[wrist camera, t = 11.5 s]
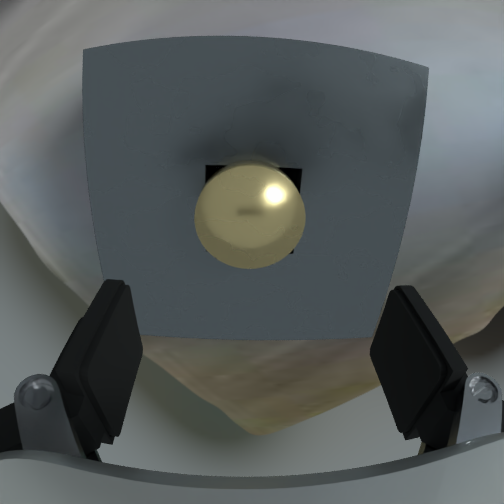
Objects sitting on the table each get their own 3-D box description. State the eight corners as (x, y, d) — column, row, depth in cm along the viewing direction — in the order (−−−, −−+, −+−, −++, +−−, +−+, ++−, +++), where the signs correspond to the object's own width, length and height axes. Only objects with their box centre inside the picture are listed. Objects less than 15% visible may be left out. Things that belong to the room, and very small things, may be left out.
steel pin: (286, 141, 24) (311, 169, 16) (281, 211, 27) (299, 270, 19) (210, 138, 24) (193, 164, 16) (210, 209, 27) (196, 267, 19)
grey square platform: (377, 70, 22) (428, 67, 14) (345, 281, 31) (371, 336, 24) (128, 59, 21) (83, 49, 14) (141, 276, 30) (116, 332, 23)
